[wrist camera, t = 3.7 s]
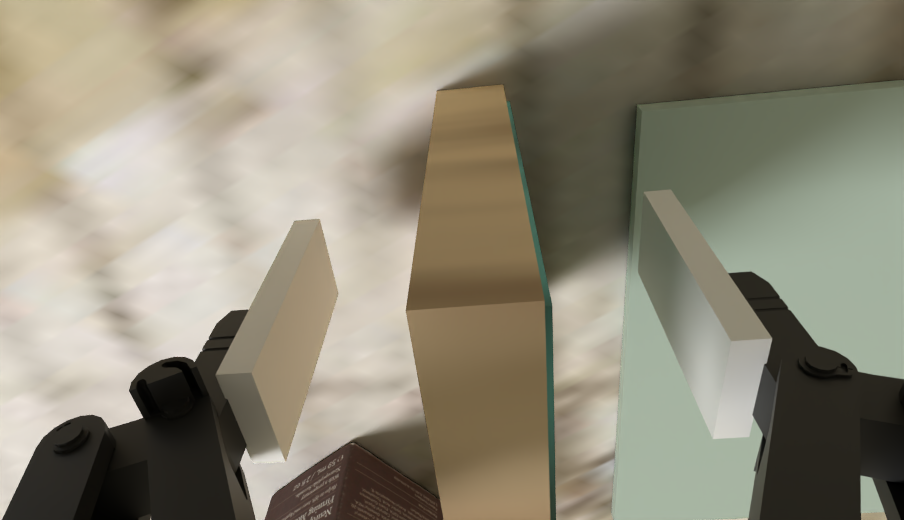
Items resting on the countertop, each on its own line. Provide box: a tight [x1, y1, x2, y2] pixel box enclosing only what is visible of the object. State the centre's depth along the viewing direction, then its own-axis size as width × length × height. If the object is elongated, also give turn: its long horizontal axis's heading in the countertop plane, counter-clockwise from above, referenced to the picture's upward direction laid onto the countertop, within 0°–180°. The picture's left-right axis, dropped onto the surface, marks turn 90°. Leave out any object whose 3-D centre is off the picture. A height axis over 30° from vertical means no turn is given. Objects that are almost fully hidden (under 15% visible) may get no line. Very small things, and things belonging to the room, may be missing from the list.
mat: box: [611, 80, 904, 520], centre depth 22 cm, size 20×16×1 cm
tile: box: [406, 84, 556, 520], centre depth 15 cm, size 8×2×11 cm, turn 6°
